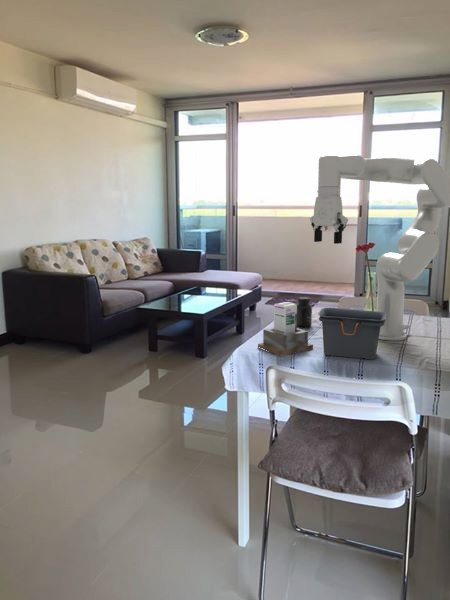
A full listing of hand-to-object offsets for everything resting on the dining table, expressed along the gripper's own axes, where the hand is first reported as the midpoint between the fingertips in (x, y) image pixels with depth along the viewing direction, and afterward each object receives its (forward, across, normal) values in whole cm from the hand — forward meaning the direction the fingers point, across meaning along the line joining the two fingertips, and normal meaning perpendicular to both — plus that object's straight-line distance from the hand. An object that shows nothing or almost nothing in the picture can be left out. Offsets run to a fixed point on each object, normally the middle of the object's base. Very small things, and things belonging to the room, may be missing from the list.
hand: (327, 242), depth 174 cm
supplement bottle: (+36, -22, +9) cm, 44 cm away
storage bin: (+37, +16, -4) cm, 40 cm away
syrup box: (+35, -3, -16) cm, 39 cm away
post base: (+36, -2, -16) cm, 40 cm away
